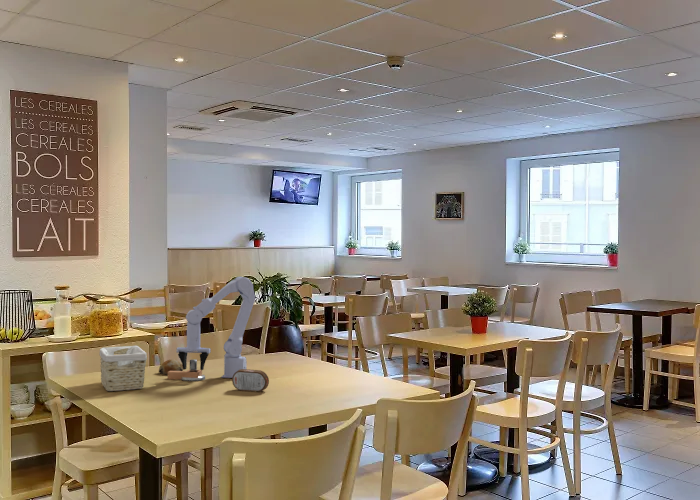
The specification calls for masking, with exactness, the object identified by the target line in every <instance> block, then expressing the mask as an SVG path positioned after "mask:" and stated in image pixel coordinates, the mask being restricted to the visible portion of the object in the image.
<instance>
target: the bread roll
mask: <svg viewBox="0 0 700 500" xmlns="http://www.w3.org/2000/svg"><path fill="white" fill-rule="evenodd" d="M169 371H184V370H183V366H182V362H181V361H179V360H177V359H174V358H172V359H167V360H165V361H163V362H162V363H161V365H159V368H158V373H160V374H161V375H165V376H168V372H169Z"/></svg>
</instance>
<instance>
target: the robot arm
mask: <svg viewBox="0 0 700 500" xmlns="http://www.w3.org/2000/svg"><path fill="white" fill-rule="evenodd" d="M231 293H239V294H240V297H241V298H242V302H241V305H240V308H239V310H238V314H237V317H236V320H235V322H234V325H233V327H232V331H231V333H230V335H228V339H227V340H226V341H225V342H224V344H223V350H224V352H225V353H224V359H223V362H224V367H223V369H224V370H223V373H224V374H223V375H221V376H220V377H221V378H227V379H229V378H230V379H232V377H233V375H234V373H235V372H237V371H238V370H240V369H247V365H248V364H247V358H246V356H242V354H241V353H242V351H243V346H242V345H243V339H244V338H243V337H244V333H245V330H246V327H247V325H248V321H249V319H250V316H251V313H252V311H253V306H254V303H255V300H256V295H255V290H254V284H253V282H252V281H251V280H250V278H248V277H246V276H245V277H244V276H236V277H235V278H234V279H232V280H231V281H230V282H228V283H227V284H226V285H224V286H223V287H222V288H221V289H219V291H217V292H216V293H215V294H214V295H213V296H212V297H206V298H202V299H201V302H200V303H198V304H197V305H196V306H193V307H192V309H190V310H188V312H187V313H186V315H185V319H186V321H187V323H186V347H185V346H184V347H181V346H180V347H176V354H177V353H178V354H177V356H178V358H179V360H180V363H181V364H182V366H183V371H184V370H185V371H186V370H187V368H188V367H187V363H188V362H187V358H188V353H189V354H190V353H191V354H192V353H193V354H196V353H197V354H199V358H200V359H199V360H200V369H199V370H202V371H203V370H205V364H206V361H207V359H208V356H209V354H210V353H211V350H212V349H211V348H209V347H201V322H202V320H203V318H205V317H206V316H207V315H208V314H210V313H211V312H212V311H213V310H214V309H216V305H217V303H219V302H220V301H221V300H223V299H224V298H225V297H227V296H228V295H230V294H231Z"/></svg>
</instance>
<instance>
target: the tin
mask: <svg viewBox="0 0 700 500" xmlns="http://www.w3.org/2000/svg"><path fill="white" fill-rule="evenodd" d="M231 379H232V385H233V387H234V388H235V389H236V390H237V391H240V392H241V391H242V392H243V391H244V392H252V391H258V392H257V393H261V392H263V391H265V390H266V389H268V386H269V383H270V379H269V376H268V374H267V373H266V372H265V371H263V370H260V369H247V368H246V369H240V370H238V371H237V372H235V373H234V375H233V377H232V378H231ZM259 391H260V392H259Z"/></svg>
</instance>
